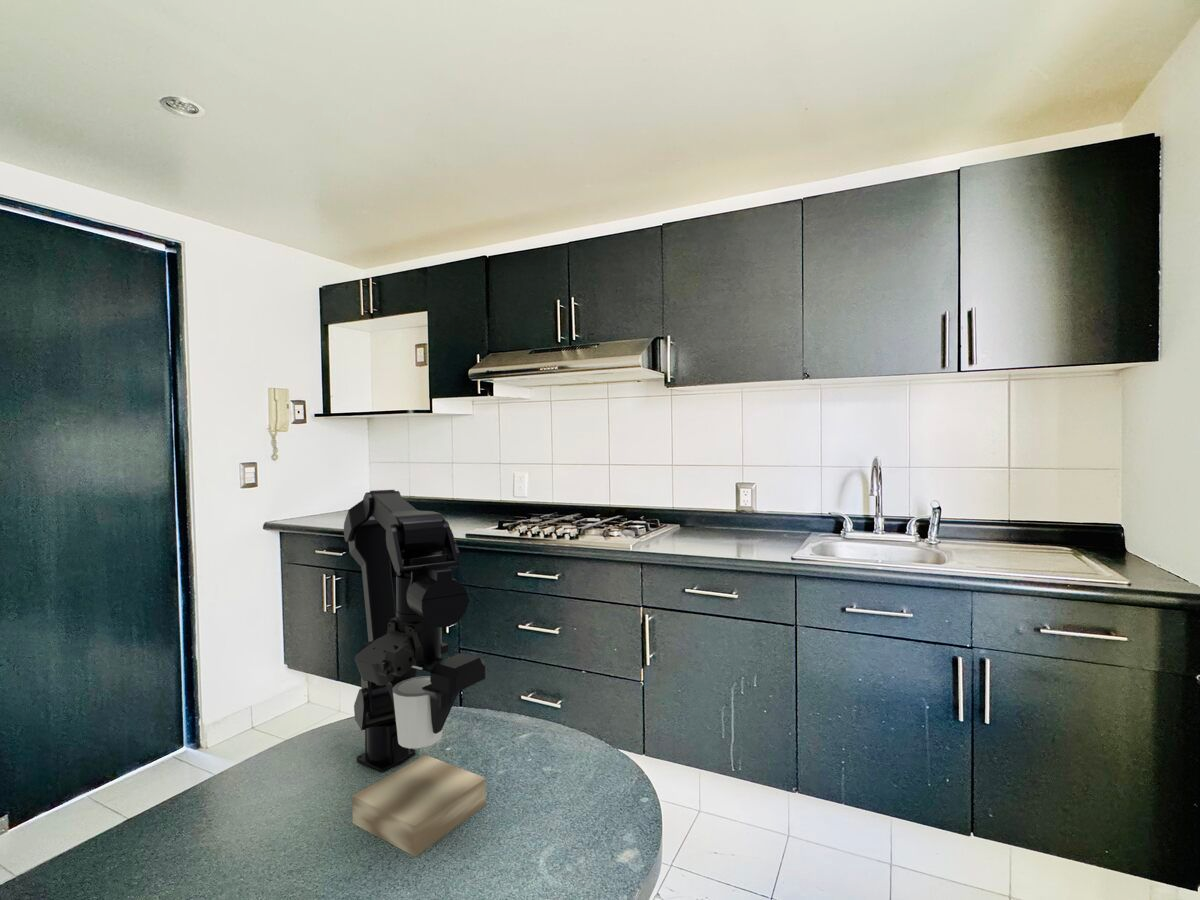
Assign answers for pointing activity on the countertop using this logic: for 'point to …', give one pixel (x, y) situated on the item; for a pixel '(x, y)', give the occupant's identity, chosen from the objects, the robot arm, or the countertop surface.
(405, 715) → the shot glass
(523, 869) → the countertop surface
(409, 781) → the birch block
